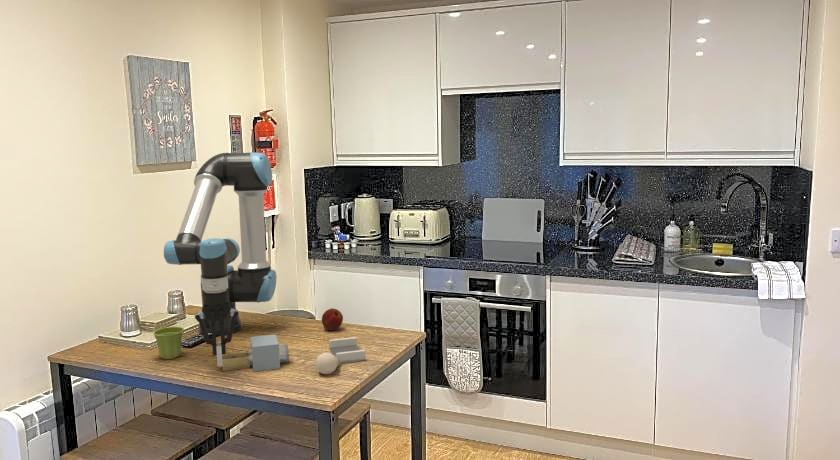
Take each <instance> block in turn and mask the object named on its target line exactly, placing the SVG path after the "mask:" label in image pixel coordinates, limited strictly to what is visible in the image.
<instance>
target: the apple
mask: <svg viewBox="0 0 840 460" xmlns="http://www.w3.org/2000/svg"><path fill="white" fill-rule="evenodd" d="M343 317H344V316H343V313H342V312H341V311H340V310H338V309H337V308H332V307H331V308H328V309H327V310H325V312H323V314H322V315H321V323H322V326H323V327H324V329H326V330H328V331H336V330H338V329H340V327H341V325H342V324H343V320H344V318H343Z"/></svg>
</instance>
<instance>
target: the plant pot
mask: <svg viewBox="0 0 840 460" xmlns="http://www.w3.org/2000/svg"><path fill="white" fill-rule="evenodd" d="M184 331H185V328H184V327H181V326H168V327H167V326H166V327H161V328H158V329H156V330H153V332H152V334H153V336H154V338H155V341H156V344H157V347H158V352H159V356H160V359H164V360H171V359H176V358H178V357H180V356H181V350H182V338H183V337H182V336H183V333H184Z"/></svg>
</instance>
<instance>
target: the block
mask: <svg viewBox="0 0 840 460" xmlns="http://www.w3.org/2000/svg"><path fill="white" fill-rule="evenodd" d="M249 340H250V348H252V359H253V366H252V371H253V372H260V371H262V372H263V371H269V370H270V371H272V370H278V369H281V363H280V358H279V345H280V343H279V340H278V338H277V334H266V335H265V334H264V335H257V336H250V337H249Z"/></svg>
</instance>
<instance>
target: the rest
mask: <svg viewBox="0 0 840 460" xmlns="http://www.w3.org/2000/svg"><path fill="white" fill-rule="evenodd" d="M328 341H329V342H328V343H329V351H330V353H331V354H333V355H334V356H335V357H337V358H339V359H340V364H348V363H356V362H364V360H365V361H366V350H365V349H360V348H359V346H358V343H357V341H358V340H357V336H353V337H346V338H345V337H344V338H336V339H335V338H334V339H329V340H328ZM340 364H339V365H340Z"/></svg>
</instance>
